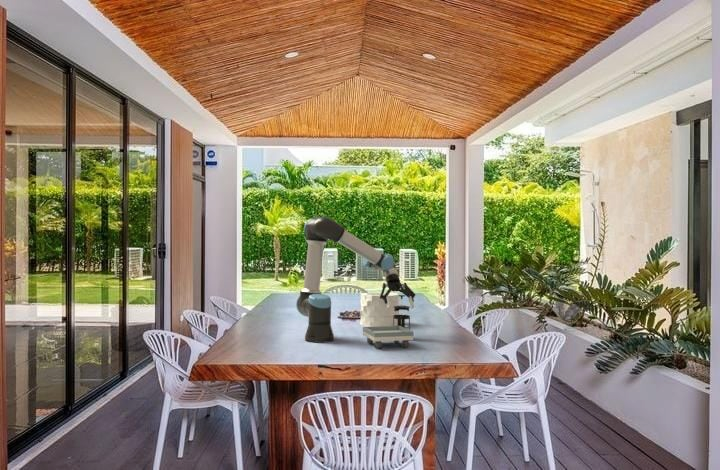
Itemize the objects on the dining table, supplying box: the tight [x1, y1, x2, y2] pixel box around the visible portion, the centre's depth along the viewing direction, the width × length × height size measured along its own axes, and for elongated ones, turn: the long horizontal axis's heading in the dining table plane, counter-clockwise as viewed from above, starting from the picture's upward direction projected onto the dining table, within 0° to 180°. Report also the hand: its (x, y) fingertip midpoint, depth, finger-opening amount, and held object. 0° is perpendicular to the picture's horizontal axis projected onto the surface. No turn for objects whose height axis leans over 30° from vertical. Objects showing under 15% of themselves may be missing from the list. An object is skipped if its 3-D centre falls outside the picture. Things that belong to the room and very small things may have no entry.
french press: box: [393, 294, 411, 330], centre depth 328 cm, size 12×9×23 cm
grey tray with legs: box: [362, 326, 414, 350], centre depth 306 cm, size 20×20×8 cm
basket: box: [359, 291, 400, 327], centre depth 376 cm, size 25×24×19 cm
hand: (401, 307), depth 332 cm, fingers open, 13 cm apart
